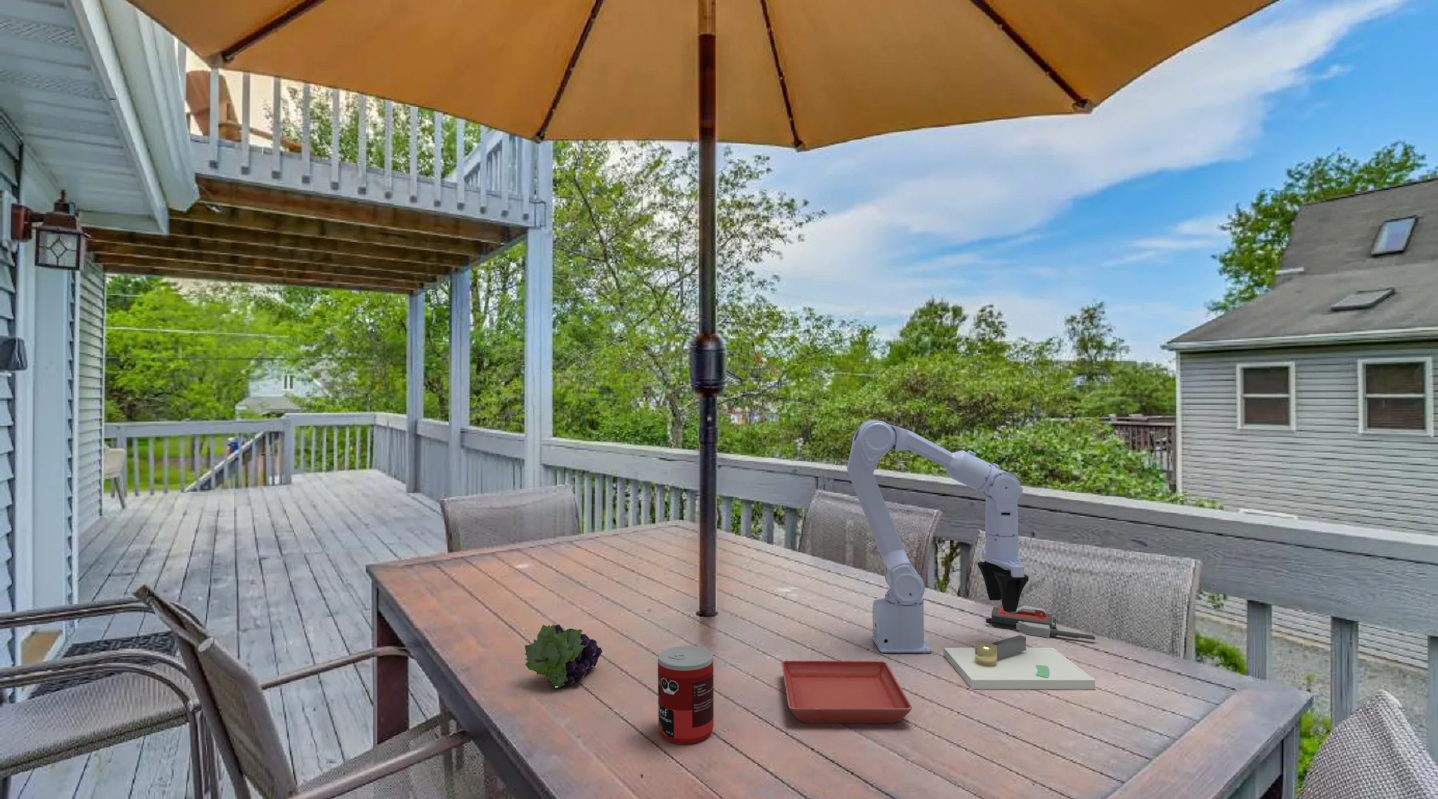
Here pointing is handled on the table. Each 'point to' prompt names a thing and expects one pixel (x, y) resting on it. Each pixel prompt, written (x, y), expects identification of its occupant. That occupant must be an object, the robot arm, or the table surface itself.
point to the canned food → (685, 694)
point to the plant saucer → (844, 692)
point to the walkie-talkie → (1030, 622)
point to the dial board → (1020, 670)
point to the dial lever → (998, 649)
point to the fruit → (562, 654)
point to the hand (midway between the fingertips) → (1002, 605)
